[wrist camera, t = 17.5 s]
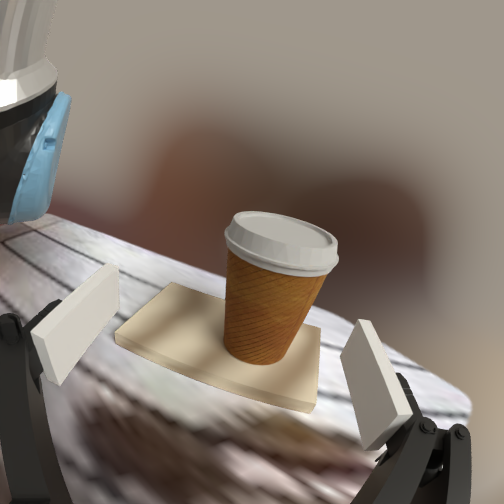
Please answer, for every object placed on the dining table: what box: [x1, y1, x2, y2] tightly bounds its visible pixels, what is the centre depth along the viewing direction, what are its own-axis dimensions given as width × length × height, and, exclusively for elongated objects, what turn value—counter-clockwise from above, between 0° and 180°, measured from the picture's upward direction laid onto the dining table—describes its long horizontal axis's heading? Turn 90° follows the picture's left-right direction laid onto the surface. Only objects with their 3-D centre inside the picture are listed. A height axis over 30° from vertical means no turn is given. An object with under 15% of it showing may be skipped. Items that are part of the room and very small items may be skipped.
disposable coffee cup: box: [223, 211, 339, 365], centre depth 24 cm, size 10×10×12 cm
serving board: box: [115, 282, 321, 414], centre depth 27 cm, size 19×12×2 cm, turn 76°
